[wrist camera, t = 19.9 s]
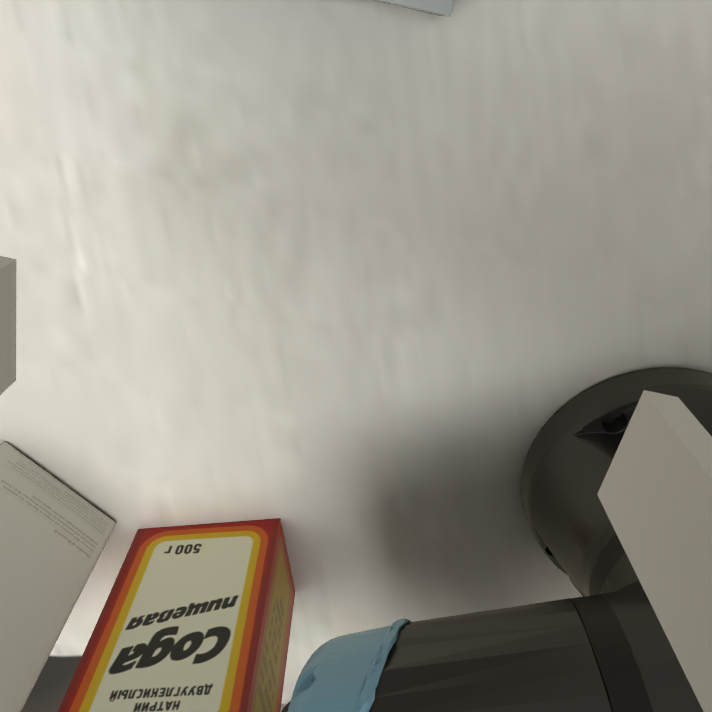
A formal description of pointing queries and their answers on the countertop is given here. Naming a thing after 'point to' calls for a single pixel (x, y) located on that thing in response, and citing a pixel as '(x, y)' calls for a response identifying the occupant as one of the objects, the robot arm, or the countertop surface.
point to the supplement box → (39, 567)
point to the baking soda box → (192, 624)
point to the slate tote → (425, 5)
